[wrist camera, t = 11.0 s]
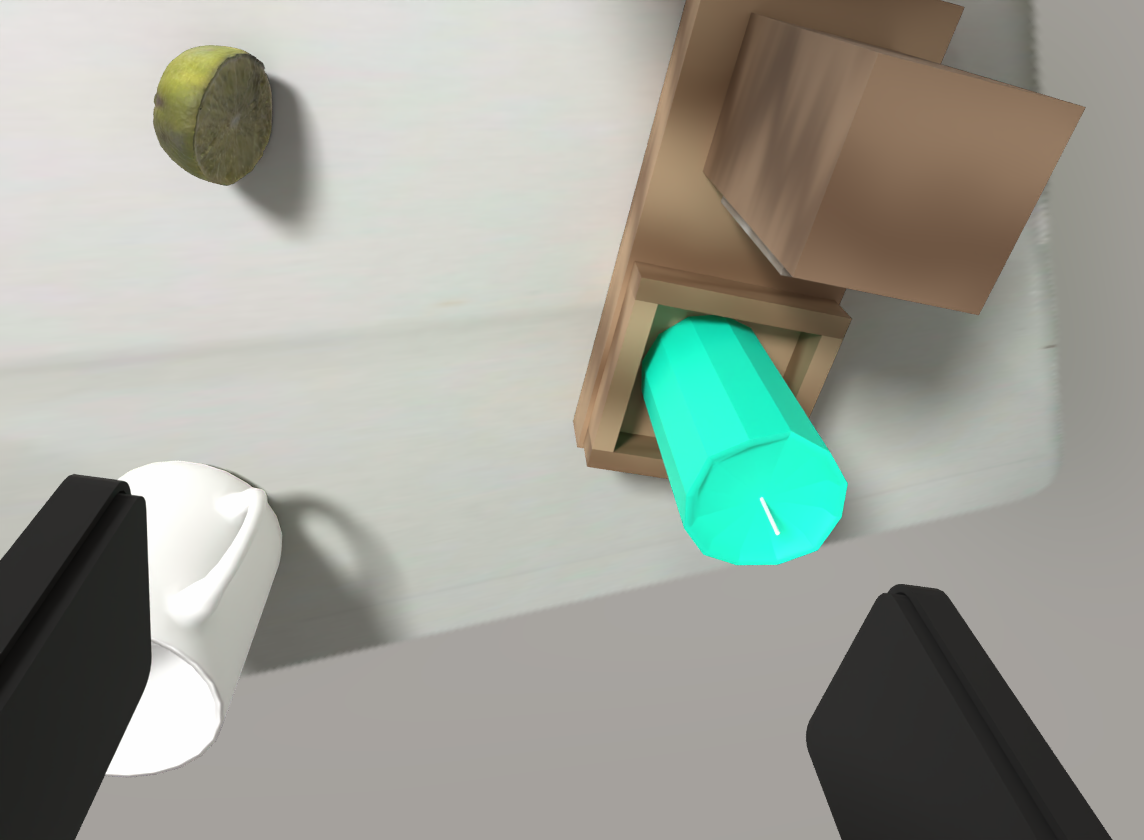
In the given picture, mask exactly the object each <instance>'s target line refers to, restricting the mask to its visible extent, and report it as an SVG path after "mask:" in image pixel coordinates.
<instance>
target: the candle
mask: <svg viewBox="0 0 1144 840" xmlns="http://www.w3.org/2000/svg"><path fill="white" fill-rule="evenodd" d="M642 394H643V398H644V401H645V404H646V407H647V410H648V414H649V417H650V420H651V423H652V427H653V430H654V433H655V436H656V439H657V443H658V446H659V449H660V452H661V455H662V459H663V462H664V465H665V468H666V471H667V475H668V478H669V481H670V484H671V488H672V491H673V494H674V497H675V500H676V504H677V507H678V510H679V513H680V516H681V520H682V523H683V526H684V529H685V530H686V531H687V533H688V534H689V536H690V537H691V538H692V540H693V541H694V542H695V544H696V545H697V546H698V548H699V549H700V551H701V552H702V553H703V555H706V556H710V557H713V558H716V559H719V560H722V561H725V562H728V563H731V564H735V565H778V564H781V563H784V562H787V561H790V560H792V559H795V558H798V557H801V556H804V555H807V554H809V553H812V552H815V551H817V550H818V549H819V548H820V547H821V545H822V544H823V542H824V541H825V540H826V538H827V537H828V535H829V534H830V533H831V531H832V530H833V528H834V527H835V526H836V524H837V523H838V521H839V520H840V519H841V517H842V512H843V506H844V501H845V496H846V490H847V485H848V483H847V481H846V480H845V478H844V476H843V474H842V472H841V471H840V469H839V467H838V465H837V464H836V462H835V460H834V458H833V456H832V455H831V453H830V451H829V450H828V448H827V447H826V445H825V443H824V442H823V440H822V439H821V437H820V436H819V434H818V432H817V431H816V429H815V428H814V426H813V425H812V423H811V421H810V420H809V418H808V417H807V415H806V414H805V412H804V410H803V409H802V407H801V406H800V404H799V403H798V401H797V400H796V398H795V396H794V395H793V393H792V392H791V390H790V389H789V387H788V385H787V384H786V382H785V381H784V379H783V378H782V376H781V374H780V373H779V371H778V370H777V368H776V367H775V365H774V363H773V362H772V360H771V359H770V357H769V356H768V354H767V353H766V351H765V349H764V348H763V346H762V345H761V343H760V342H759V340H758V338H757V337H756V335H755V334H754V332H753V331H752V329H751V328H750V327H748V326H746V325H744V324H742V323H740V322H738V321H736V320H734V319H731V318H728V317H723V316H717V315H704V316H689V317H687V318H685V319H684V320H682V321H680V322H679V323H677V324H675V325H674V326H672V327H670V328H668V329H667V330H665V331H663V332H662V333H660V334H659V335H658V336H657V338H656V340H655V341H654V343H653V344H652V346H651V348H650V349H649V351H648V352H647V354H646V356H645V357H644V359H643V361H642Z"/></svg>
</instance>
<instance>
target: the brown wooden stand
mask: <svg viewBox="0 0 1144 840" xmlns="http://www.w3.org/2000/svg"><path fill="white" fill-rule="evenodd" d="M963 10H964V7H962V6H959V5H955V4H952V3H948V2H945V1H941V0H686V2H685V6H684V10H683V14H682V17H681V21H680V25H679V28H678V32H677V36H676V40H675V43H674V47H673V51H672V55H671V58H670V62H669V66H668V69H667V73H666V77H665V81H664V84H663V88H662V92H661V96H660V99H659V103H658V107H657V111H656V114H655V118H654V122H653V125H652V129H651V133H650V137H649V140H648V144H647V148H646V152H645V155H644V159H643V163H642V166H641V170H640V174H639V178H638V181H637V185H636V189H635V193H634V196H633V200H632V204H631V207H630V211H629V215H628V219H627V222H626V226H625V230H624V234H623V237H622V241H621V245H620V248H619V252H618V256H617V260H616V263H615V267H614V271H613V275H612V278H611V282H610V286H609V290H608V293H607V297H606V301H605V304H604V308H603V312H602V316H601V319H600V323H599V327H598V331H597V334H596V338H595V342H594V345H593V349H592V353H591V357H590V360H589V364H588V368H587V372H586V375H585V379H584V383H583V386H582V390H581V394H580V398H579V401H578V405H577V409H576V413H575V416H574V420H573V423H574V429H575V436H576V442H577V447H579V448H584V451H585V457H586V463H587V467H593V468H599V469H606V470H613V471H619V472H626V473H633V474H639V475H646V476H653V477H659V478H666V479H669V478H668V475H667V471H666V468H665V465H664V462H663V459H662V455H661V452H660V449H659V446H658V443H657V439H656V436H655V433H654V430H653V427H652V423H651V420H650V417H649V414H648V410H647V407H646V404H645V401H644V398H643V394H642V361H643V359H644V357H645V356H646V354H647V352H648V351H649V349H650V348H651V346H652V344H653V343H654V341H655V340H656V338H657V336H658V335H659V334H660V333H662V332H663V331H665V330H667V329H668V328H670V327H672V326H674V325H675V324H677V323H679V322H680V321H682V320H684V319H685V318H687V317H689V316H704V315H717V316H723V317H728V318H731V319H734V320H736V321H738V322H740V323H742V324H744V325H746V326H748V327H750V328H751V329H752V331H753V332H754V334H755V335H756V337H757V338H758V340H759V342H760V343H761V345H762V346H763V348H764V349H765V351H766V353H767V354H768V356H769V357H770V359H771V360H772V362H773V363H774V365H775V367H776V368H777V370H778V371H779V373H780V374H781V376H782V378H783V379H784V381H785V382H786V384H787V385H788V387H789V389H790V390H791V392H792V393H793V395H794V396H795V398H796V400H797V401H798V403H799V404H800V406H801V407H802V409H803V410H804V412H805V414H806V415H807V417H808V418H809V417H810V414H811V412H812V410H813V408H814V405H815V403H816V401H817V398H818V396H819V394H820V391H821V389H822V387H823V384H824V382H825V380H826V377H827V375H828V373H829V371H830V368H831V366H832V364H833V361H834V359H835V357H836V354H837V352H838V350H839V347H840V345H841V343H842V341H843V338H844V336H845V334H846V331H847V329H848V327H849V324H850V322H851V320H852V318H851V317H850V316H849V315H848V314H847V313H846V312H845V311H844V310H843V308H842V307H841V306H840V305H839V304H840V302H841V300H842V297H843V295H844V293H845V290H846V288H847V289H852V290H857V291H862V292H867V293H872V294H877V295H882V296H887V297H892V298H897V299H902V300H906V301H911V302H916V303H921V304H927V305H932V306H937V307H941V308H946V309H951V310H956V311H961V312H966V313H971V314H976V315H979V314H980V312H981V310H982V308H983V306H984V304H985V302H986V300H987V298H988V296H989V294H990V292H991V290H992V288H993V286H994V285H995V283H996V281H997V279H998V277H999V275H1000V273H1001V271H1002V269H1003V267H1004V265H1005V263H1006V261H1007V259H1008V257H1009V255H1010V253H1011V252H1012V250H1013V248H1014V246H1015V244H1016V242H1017V240H1018V238H1019V236H1020V234H1021V232H1022V230H1023V228H1024V226H1025V224H1026V222H1027V220H1028V218H1029V217H1030V215H1031V213H1032V211H1033V209H1034V207H1035V205H1036V203H1037V201H1038V199H1039V197H1040V195H1041V193H1042V191H1043V189H1044V187H1045V185H1046V184H1047V182H1048V180H1049V178H1050V176H1051V174H1052V172H1053V170H1054V168H1055V166H1056V164H1057V162H1058V160H1059V158H1060V156H1061V154H1062V152H1063V150H1064V148H1065V146H1066V145H1067V143H1068V141H1069V139H1070V137H1071V135H1072V133H1073V131H1074V129H1075V127H1076V125H1077V123H1078V121H1079V119H1080V117H1081V116H1082V114H1083V112H1084V110H1085V107H1083V106H1080V105H1076V104H1073V103H1070V102H1066V101H1063V100H1059V99H1056V98H1053V97H1049V96H1046V95H1043V94H1039V93H1036V92H1033V91H1029V90H1026V89H1023V88H1019V87H1016V86H1013V85H1009V84H1006V83H1003V82H999V81H996V80H992V79H989V78H986V77H982V76H979V75H976V74H972V73H969V72H966V71H962V70H959V69H956V68H952V67H949V66H945V65H942V64H941V62H942V60H943V57H944V55H945V53H946V50H947V48H948V45H949V43H950V41H951V38H952V36H953V34H954V31H955V29H956V26H957V24H958V22H959V19H960V17H961V15H962V12H963Z"/></svg>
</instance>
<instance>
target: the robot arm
mask: <svg viewBox="0 0 1144 840" xmlns="http://www.w3.org/2000/svg"><path fill="white" fill-rule="evenodd" d="M151 662H152V652H151V623H150V595H149V566H148V537H147V509H146V501H145V498H144V497H143V496H138V495H131V490H130V486H129V484H128V483H127V482H125V481H122V480H114V479H106V478H99V477H91V476H84V475H76V474H73V475H70V476H68V477H67V478H66V479H65V480H64V481H63V482H62V483H61V485H60V486H59V487H58V488H57V490H56V491H55V492H54V493H53V495H52V496H51V497H50V498H49V500H48V501H47V502H46V504H45V505H44V506H43V507H42V509H41V510H40V511H39V512H38V514H37V515H36V516H35V517H34V519H33V520H32V521H31V522H30V524H29V525H28V526H27V528H26V529H25V530H24V531H23V533H22V534H21V535H20V536H19V538H18V539H17V540H16V541H15V543H14V544H13V545H12V546H11V548H10V549H9V550H8V552H7V553H6V554H5V555H4V557H3V558H2V559H1V560H0V840H75V838H76V836H77V834H78V832H79V830H80V827H81V825H82V823H83V821H84V819H85V817H86V815H87V813H88V810H89V808H90V806H91V804H92V802H93V800H94V797H95V795H96V793H97V791H98V789H99V787H100V785H101V782H102V780H103V778H104V776H105V774H106V772H107V770H108V768H109V765H110V763H111V761H112V759H113V757H114V755H115V753H116V750H117V748H118V746H119V744H120V742H121V740H122V738H123V735H124V733H125V731H126V729H127V727H128V725H129V723H130V720H131V718H132V716H133V714H134V712H135V710H136V708H137V705H138V703H139V701H140V699H141V697H142V695H143V693H144V690H145V688H146V685H147V682H148V678H149V674H150V670H151ZM806 742H807V748H808V752H809V754H810V757H811V759H812V762H813V765H814V768H815V770H816V773H817V776H818V778H819V781H820V784H821V786H822V788H823V791H824V794H825V797H826V799H827V802H828V805H829V807H830V810H831V812H832V815H833V818H834V821H835V823H836V826H837V829H838V831H839V834H840V836H841V839H842V840H1112V839H1111V837H1110V836H1109V834H1108V833H1107V831H1106V830H1105V828H1104V827H1103V825H1102V824H1101V822H1100V821H1099V819H1098V818H1097V816H1096V815H1095V814H1094V812H1093V810H1092V809H1091V808H1090V806H1089V805H1088V803H1087V802H1086V800H1085V799H1084V797H1083V796H1082V794H1081V793H1080V791H1079V790H1078V788H1077V787H1076V785H1075V784H1074V782H1073V781H1072V779H1071V778H1070V776H1069V775H1068V773H1067V772H1066V770H1065V769H1064V768H1063V766H1062V765H1061V763H1060V762H1059V760H1058V759H1057V757H1056V756H1055V754H1054V753H1053V751H1052V750H1051V748H1050V747H1049V745H1048V744H1047V742H1046V741H1045V740H1044V738H1043V736H1042V735H1041V734H1040V732H1039V731H1038V729H1037V728H1036V726H1035V725H1034V723H1033V722H1032V720H1031V719H1030V717H1029V716H1028V714H1027V713H1026V711H1025V710H1024V708H1023V707H1022V705H1021V704H1020V702H1019V701H1018V699H1017V698H1016V696H1015V695H1014V693H1013V692H1012V691H1011V689H1010V688H1009V686H1008V685H1007V683H1006V682H1005V680H1004V679H1003V677H1002V676H1001V674H1000V673H999V671H998V670H997V668H996V667H995V665H994V664H993V663H992V661H991V660H990V658H989V657H988V655H987V654H986V652H985V651H984V649H983V648H982V646H981V645H980V643H979V642H978V640H977V639H976V637H975V636H974V634H973V633H972V631H971V630H970V628H969V627H968V625H967V624H966V622H965V621H964V619H963V618H962V617H961V615H960V614H959V612H958V611H957V609H956V608H955V606H954V605H953V603H952V602H951V600H950V599H949V597H948V596H947V595H946V594H945V593H944V592H943V591H941V590H939V589H935V588H928V587H920V586H913V585H905V584H898V585H895V586H893V587H892V588H891V589H890V590H889V592H888V593H883V594H881V595H880V596H879V597H878V598H877V599H876V601H875V603H874V605H873V606H872V608H871V610H870V612H869V614H868V615H867V617H866V619H865V621H864V623H863V625H862V626H861V628H860V630H859V632H858V634H857V635H856V637H855V639H854V641H853V643H852V645H851V646H850V648H849V650H848V652H847V654H846V655H845V657H844V659H843V661H842V663H841V665H840V666H839V668H838V670H837V672H836V674H835V675H834V677H833V679H832V681H831V683H830V685H829V686H828V688H827V690H826V692H825V694H824V695H823V697H822V699H821V701H820V703H819V705H818V706H817V708H816V710H815V712H814V714H813V715H812V717H811V719H810V721H809V724H808V726H807V731H806Z"/></svg>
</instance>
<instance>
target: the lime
mask: <svg viewBox="0 0 1144 840" xmlns="http://www.w3.org/2000/svg"><path fill="white" fill-rule="evenodd" d="M264 69H265V67H264V65H263V63H262V62H261V61H259V60H258V59H256V57H254V56H252V55H251V54H249V53H247V52H246V51H244V50H241V49H237V48H232V47H227V46H214V45H209V46H208V45H206V46H199V47H195V48H191V49H189V50H186V51H185V52H183V53H182V54H180V55H179V56H178V57H176V58H175V59H174V60H172V61H171V63H170V64H169V65H168V66H167V68H166V70H165V71H164V73H163V75H162V77H161V80H160V83H159V85H158V88H157V93H156V95H155V98H154V103H155V108H154V113H153V115H154V119H153V125H154V129H155V132H156V135H157V138H158V140H159V143H160V146H161V147H162V148H163V149H164V151H165V152H166V153H167V154H168V155H169V157H170V158H171V159H172V160H173V161H174V162H175V163H177V165H179V166H180V167H181V168H183V169H184V170H185V171H187V172H189V173H190V174H192V175H194V176H196V177H198V178H200V179H203V180H206V181H208V182H212V183H216V184H220V185H225V186H228V185H231V184H234V183H235V182H237V181H238V180H239V179H241V178H242V177H244V176H245V175H246V174H248V173H250V172H251V171H252V170H253V168H254V167H255V165H256V164H257V163H258V161H259V160H260V158H261V157H262V156H263V151H264V150H265V146H266V145H267V143H268V141H269V137H270V134H271V127H272V123H271V121H272V94H271V87H270V84H269V81H268V77H267V74H266V73H265V71H264Z"/></svg>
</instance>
